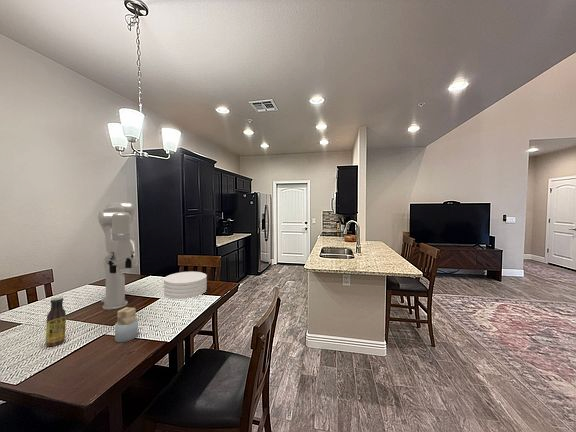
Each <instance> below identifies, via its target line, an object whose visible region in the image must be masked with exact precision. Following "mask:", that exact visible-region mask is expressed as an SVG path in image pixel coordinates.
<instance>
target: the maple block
mask: <svg viewBox="0 0 576 432" xmlns="http://www.w3.org/2000/svg"><path fill="white" fill-rule="evenodd" d="M136 310H137V309H136V307H126V306H125V307H124V308H122V309H120V310H118V311H117V314H116V315H117V322H118V324H119V325H129V324H130V323H132V322H134V321H135V320H136V319H137V318H136V317H137V316H136V313H137V312H136Z"/></svg>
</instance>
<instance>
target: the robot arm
mask: <svg viewBox="0 0 576 432" xmlns="http://www.w3.org/2000/svg"><path fill="white" fill-rule="evenodd" d="M135 211H136V210H135V206H134V204H133V203H132V202H130V201H129V202H124V201H121V202H120V201H112V202H110V203H108V204H107V205H106V206H105V208H102V209H100V210H99V212H98V215H97V217H98V218H97V219H98V223H99V225H100V228H101V229H102V231H103V233H104V236H105V237H104V239H105V241H104V242H105V250H106V253H108V255H106V256H105V257H104V258H103V267H104V273H105V297H102V299H101V300H100V302H101V303H104V304H102V309H104V310H108V311H109V310H110V311H111V310H116V309H120V308H123V307H124V308H125V307H126V306H127V305H128V304H129V302H128V300H126V293H125V291H126V287H125V286H126V284H125V282H126V281H125V280H126V277H125V274H124V272H122V271H121V270H125V269H133V268H136V267H137V266H138V265H139V255H138V247H137V246H138V245H137V242H136V240H135V238H133V237H130V235H131V234H130V232H131V231H130V229H131V228H130V226H131V225H130V224H132V222H133V221H134V216H135Z"/></svg>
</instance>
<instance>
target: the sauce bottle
mask: <svg viewBox="0 0 576 432" xmlns="http://www.w3.org/2000/svg"><path fill="white" fill-rule="evenodd" d="M63 301H64V297H63V296H61V297H53V298H51V299H50V310H49V311H48V313H47V315H46V326H45V327H46V328H45V329H46V330H45V345H46V346H47V347H53V346H54V347H55V346H59V345H60V344H62V343H63V344H64V342H65V339H66V322H67V318H66V309H64V307H63V304H64V303H63Z"/></svg>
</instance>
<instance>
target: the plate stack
mask: <svg viewBox="0 0 576 432" xmlns="http://www.w3.org/2000/svg"><path fill="white" fill-rule="evenodd" d="M207 278H208V274H206V273H204V272H201V271H181V272H175V273H171V274H169V275H166V276H165V277H164V278H163V297H164V298H165V299H167V298H168V299H167V300H171V299H186V300H188V299H187V298H192V297H196V296H199V295H202V294H203V293H205V292H206V293H207V291H206V290H208V289H207V287H208V286H207V285H208V284H207V281H208V280H207ZM206 293H205V294H206ZM203 295H204V294H203ZM203 295H202V296H203ZM199 297H200V296H199ZM196 298H197V297H196ZM192 299H193V298H192Z"/></svg>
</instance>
